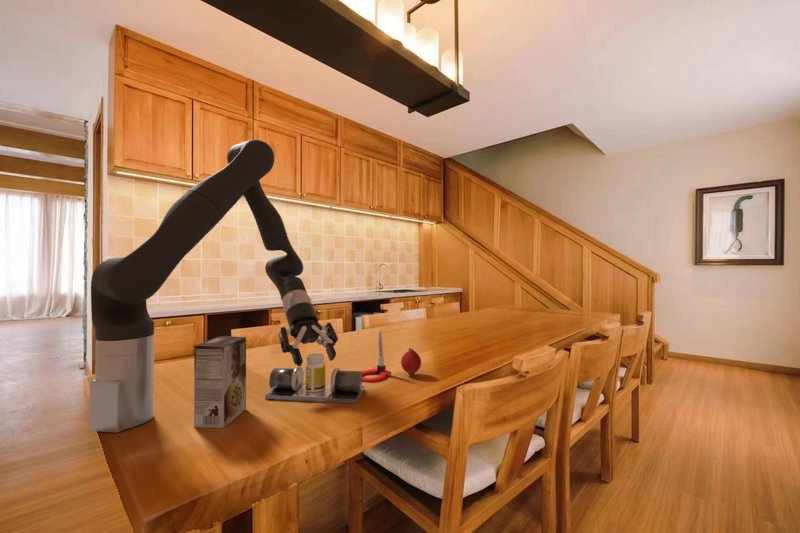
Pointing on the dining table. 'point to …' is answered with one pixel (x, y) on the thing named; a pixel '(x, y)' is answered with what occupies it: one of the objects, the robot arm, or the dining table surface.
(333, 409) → the dining table surface
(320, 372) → the supplement bottle
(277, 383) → the twin cylinder plate
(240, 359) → the coffee box
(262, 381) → the dining table surface
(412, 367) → the onion
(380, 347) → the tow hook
